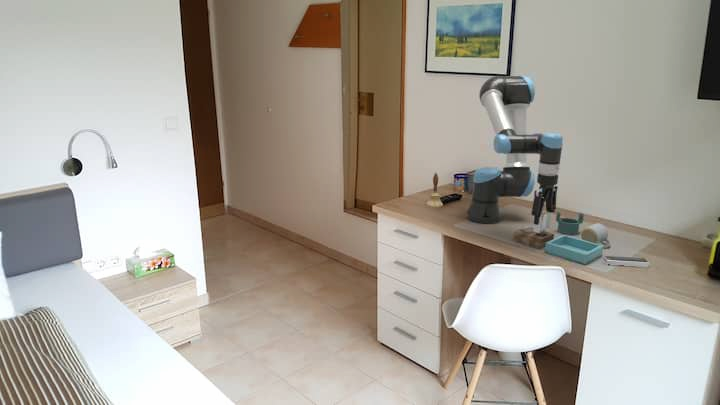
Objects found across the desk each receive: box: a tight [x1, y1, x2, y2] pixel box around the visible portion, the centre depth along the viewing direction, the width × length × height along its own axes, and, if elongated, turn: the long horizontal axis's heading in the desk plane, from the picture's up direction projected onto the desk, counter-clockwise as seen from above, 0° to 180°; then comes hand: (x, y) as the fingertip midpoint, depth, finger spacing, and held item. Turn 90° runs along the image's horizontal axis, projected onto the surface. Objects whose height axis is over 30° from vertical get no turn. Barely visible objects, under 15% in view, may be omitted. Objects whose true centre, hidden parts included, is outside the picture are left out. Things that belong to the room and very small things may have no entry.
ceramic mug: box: [580, 222, 612, 249], centre depth 215 cm, size 11×8×8 cm
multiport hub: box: [603, 255, 650, 268], centre depth 196 cm, size 4×14×2 cm, turn 83°
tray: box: [544, 234, 604, 266], centre depth 205 cm, size 16×14×4 cm
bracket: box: [555, 211, 585, 236], centre depth 229 cm, size 9×9×9 cm
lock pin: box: [537, 211, 547, 237], centre depth 213 cm, size 3×3×13 cm
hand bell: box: [425, 172, 444, 208], centre depth 264 cm, size 8×8×16 cm
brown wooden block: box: [512, 225, 555, 250], centre depth 216 cm, size 12×10×5 cm
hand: (541, 229), depth 213 cm, fingers open, 7 cm apart
